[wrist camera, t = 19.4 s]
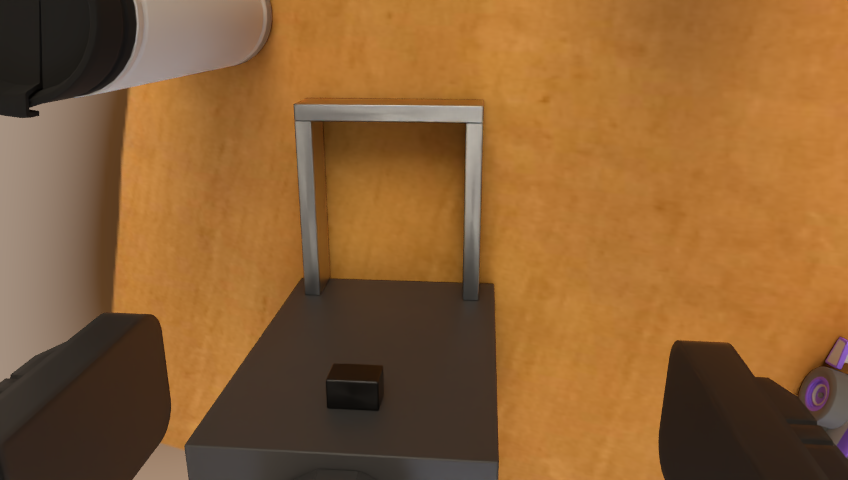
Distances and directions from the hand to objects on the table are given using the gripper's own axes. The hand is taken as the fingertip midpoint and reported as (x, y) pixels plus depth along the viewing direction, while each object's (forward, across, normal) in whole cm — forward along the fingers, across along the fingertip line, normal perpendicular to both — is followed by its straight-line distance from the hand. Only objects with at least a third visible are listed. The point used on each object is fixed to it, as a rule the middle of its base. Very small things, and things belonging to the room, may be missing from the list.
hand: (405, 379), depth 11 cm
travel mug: (+33, +15, -5) cm, 36 cm away
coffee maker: (+33, +4, +16) cm, 36 cm away
